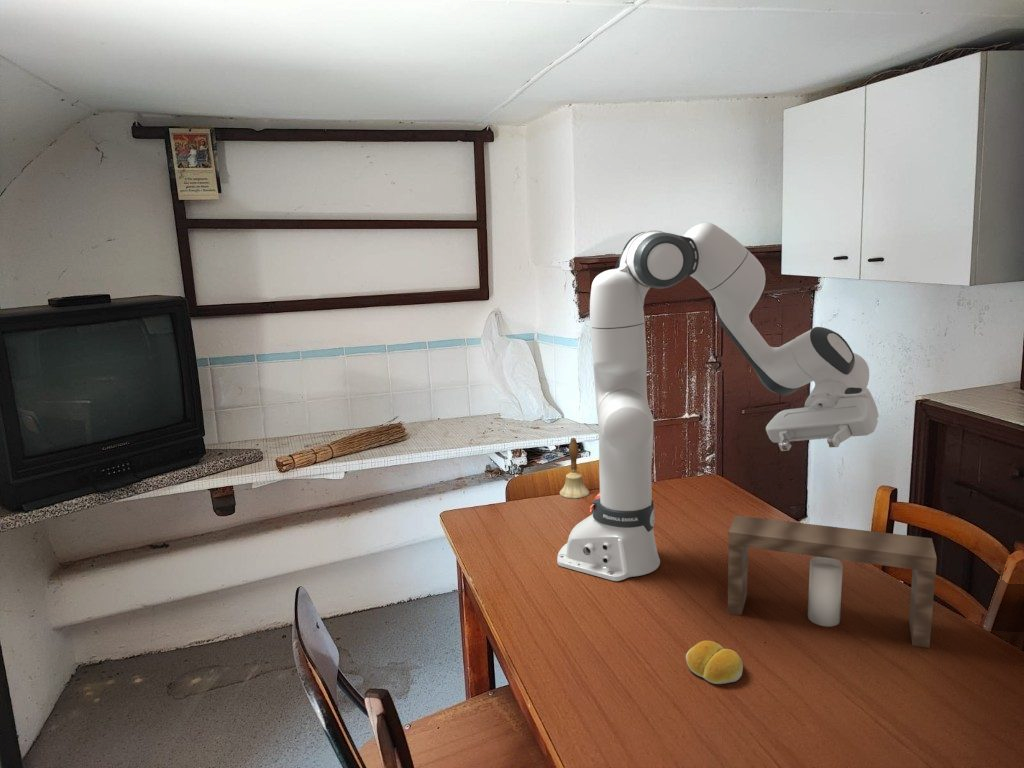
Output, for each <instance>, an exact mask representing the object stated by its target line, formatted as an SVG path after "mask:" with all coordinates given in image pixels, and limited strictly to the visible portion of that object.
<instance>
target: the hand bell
mask: <svg viewBox="0 0 1024 768" xmlns="http://www.w3.org/2000/svg"><path fill="white" fill-rule="evenodd" d="M568 454H569V458H570V472H568V473H567V474H566V475H565V481H564V485H563V487H562V488H561V489H560V491H559V495H560V496H561V497H563V498H566V499H581V498H586V497H587V496H589V495H590V491H589V488H587V486H585V483H584V480H583V475H582V473H580V472H578V470H577V469H578V464H577V463H578V462H577V459H578V455H579V446H578V442H577V439H576V438H575V437H571V438H570V442H569V445H568Z"/></svg>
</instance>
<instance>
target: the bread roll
mask: <svg viewBox="0 0 1024 768" xmlns="http://www.w3.org/2000/svg"><path fill="white" fill-rule="evenodd" d="M685 661H686V664H687V667H688V668H689V670H690V671H691V672H692V673H693V674H695V675H696V676H698V677H699V678H700V677H701V678H703V679H704V680H705V681H707V682H709V683H711V684H715V685H723V684H724V685H725V684H730V683H731V684H732V683H735V682H737V681H739V680H740V679H741V678H742V675H743V671H744V669H743V668H744V663H743V661H742V658H741V657H740V655H739V654H738V652H736V651H735V650H733V649H730V648H724V647H723V646H722V645H721V644H720V643H717V642H716V641H713V640H702V641H699V642H697V643H696V644H695V645H694V646H692V647H691V648H689V650H688V651H687V653H686V654H685Z"/></svg>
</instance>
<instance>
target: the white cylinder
mask: <svg viewBox="0 0 1024 768" xmlns="http://www.w3.org/2000/svg"><path fill="white" fill-rule="evenodd" d="M843 565H844V564H843V563H842V562H841V560H839V559H832V558H825V557H817V556H813V557H812V558H811V559H810V561H809V579H808V603H807V618H808V620H809V621H811V623H813V624H814V625H815V624H816V625H818V626H822V627H828V628H829V627H835V626H838V625H839V624H840V622H841V608H842V607H841V603H842V587H843V586H842V585H843V584H842V583H843Z"/></svg>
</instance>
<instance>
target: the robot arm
mask: <svg viewBox="0 0 1024 768" xmlns="http://www.w3.org/2000/svg"><path fill="white" fill-rule="evenodd" d="M688 277H691V278H692V279H694V280H695V281H697V282H698V283H699V285H701V287H703V288H704V289H705V290H706V291H707V292H708V293H709V295H711V297H712V298H713V300H714V302H715V305H716V307H715V311H714V312H715V313H714V314H715V316H716V319H717V321H718V322H719V324H720V326H721V327H722V329H723V330H724V331H725V333H726V334H727V335H728V337H729V338H730V339H731V341H732V342H733V344H735V346H736V347H737V349H738V350H739V351H740V352H741V353H742V355H743V356H744V357H745V359H746V360H747V361H748V363H749V364H750V365H751V367H752V368H753V369H754V371H755V373H756V375H757V377H758V380H759V381H760V382H761V384H762V385H763V386H764V387H765V388H766V389H767V390H768V391H770V392H771V393H774V394H775V395H776V394H777V395H780V396H789V395H791V394H793V393H795V392H796V391H798V390H800V389H801V388H802V387H804V386H805V385H808V384H810V383H812V382H814V387H813V389H812V391H811V392H810V394H808V396H807V398H806V400H805V403H804V406H803V407H797V408H789V409H783V410H781V411H779V412H778V413H776V414H775V415H774V416H773V418H771V420H770V421H769V422H768V423H767V425H766V426H765V432H766V434H767V436H768V438H769V440H770V441H771V442H772V443H776V444H778V447H779V449H780V452H785V451H790V449H791V448H792V444H791V443H790V442H801V441H810V440H811V441H812V440H825V439H826V440H827V441H826V442H827V444H828V447H829V448H839V447H840V445H841V443H843V442H844V441H846V440H849V439H850V438H851V437H863V436H868V435H871V434H873V433H874V432H875V430H876V428H877V426H878V423H879V422H878V418H879V411H878V408H877V404H876V402H875V401H876V400H874V397H873V395H872V393H871V391H870V390H869V388H868V385H869V381H870V368H869V367H870V366H869V365H868V363H867V361H866V360H865V359H864V358H863V356H861V355H860V354H857V353H855V352H853V349H852V347H850V344H849V343H848V342H847V341H846V339H844V338H843V336H842V335H841V334H840V333H838V332H836V331H834V330H832V329H830V328H826V327H823V326H815V327H812V328H811V329H809V330H808V331H806V332H805V331H804V332H803V333H802V334H800V335H798V336H796V337H795V338H794V339H791V340H790V341H788V342H786V343H784V344H781V346H779V347H773V346H770V345H769V343H767V341H766V340H765V339H764V337H763V336H762V335H761V334H760V332H759V330H757V328H756V327H755V326H754V325H753V323H752V322H751V319H750V313H751V312H752V311H753V309H754V308H755V306H756V305H757V304H758V302H759V301H760V298H761V296H762V294H763V291H764V289H765V286H766V280H767V279H766V272H765V268H764V267H763V265H762V263H761V262H760V261H759V259H758V258H757V257H756V256H755V255H754V254H752V252H750V250H749V249H747V247H745V246H744V245H743V244H742V243H741V242H740V241H739V240H737V239H736V238H735V237H734V236H732V235H731V234H730V233H728V231H727V232H726V230H724V229H722V228H721V227H719V226H717V225H716V224H714V223H712V222H702V223H701V222H700V223H698V224H695V225H694V226H692V227H691V228H689V229H688V230H687V231H686V232H685V233H684V235H681V234H680V235H679V234H675V233H672V232H665V231H662V230H648V231H642V232H639V233H637V234H635V235H633V236H632V237H631V238H629V240H628V241H627V242H626V243H625V245H624V247H623V249H622V251H621V254H620V256H619V258H618V259H617V262H616V264H615V266H614V268H612V269H607V270H604V271H602V272H600V273H598V274H597V275H596V276H595V278H594V279H593V281H592V283H591V286H590V287H591V288H590V297H589V324H590V325H589V326H590V337H591V338H590V341H591V349H592V350H591V354H592V361H593V376H594V391H595V393H594V394H595V402H596V403H595V407H596V414H597V423H598V424H597V425H598V459H599V460H598V465H599V466H598V473H599V475H598V476H599V478H598V479H599V493H597V494H596V496H595V497H594V500H593V501H592V503H591V505H590V507H589V513H590V514H591V515H589V516H587V517H586V518H583V520H581V521H580V522H578V523H577V524H576V525H575V526H574V527H573V528H572V530H571V531H570V532H569V536H568V539H567V543H565V544H564V545H562V547H561V548H560V550H559V551H558V553H557V557H556V560H557V561H556V562H557V565H558V566H560V567H562V568H566V569H570V570H573V571H577V572H580V573H585V574H587V575H591V576H596V577H598V578H602V579H606V580H609V581H613V582H620V581H623V580H626V579H628V578H632V577H633V578H634V577H639V576H644V575H647V574H650V573H653V572H654V571H656V570H657V569H658V568H659V566H660V564H661V559H660V556H659V554H658V553H659V552H658V549H657V545H656V539H655V533H654V527H655V521H656V520H655V505H654V500H653V498H652V495H653V494H652V461H653V450H654V449H653V447H654V416H653V414H652V411H651V409H650V406H649V400H648V389H647V388H648V387H647V386H648V385H647V384H648V382H647V379H648V377H647V376H648V375H647V374H648V373H647V371H648V370H647V369H648V368H647V367H648V353H647V352H648V351H647V340H646V337H647V336H646V325H645V324H646V323H645V321H646V320H645V311H644V306H645V298H646V295H647V293H648V291H649V290H650V289H651V288H653V289H659V290H661V289H667V288H670V287H673V286H675V285H677V284H678V283H681V282H682V281H683V280H684V279H686V278H688Z"/></svg>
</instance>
